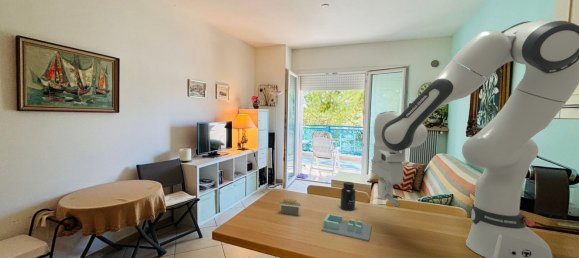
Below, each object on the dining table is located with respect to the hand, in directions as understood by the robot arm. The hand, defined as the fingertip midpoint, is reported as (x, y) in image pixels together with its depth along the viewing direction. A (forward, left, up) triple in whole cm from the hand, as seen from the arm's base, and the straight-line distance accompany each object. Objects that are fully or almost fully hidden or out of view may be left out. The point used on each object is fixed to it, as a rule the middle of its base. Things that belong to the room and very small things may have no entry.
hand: (385, 189), depth 90 cm
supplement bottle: (+16, -15, -16) cm, 27 cm away
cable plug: (-2, +4, -3) cm, 5 cm away
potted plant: (+39, +3, -16) cm, 42 cm away
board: (+13, +6, -16) cm, 21 cm away
